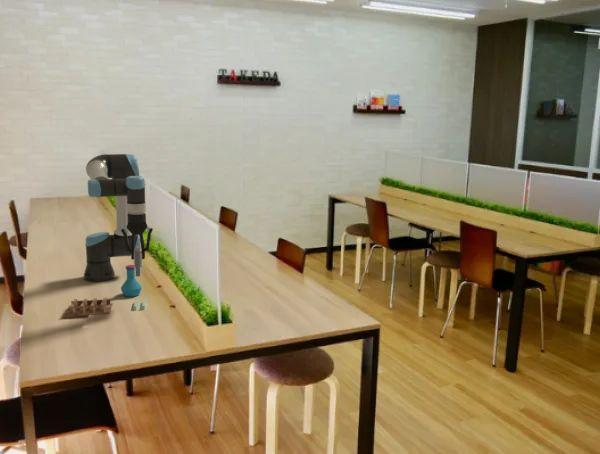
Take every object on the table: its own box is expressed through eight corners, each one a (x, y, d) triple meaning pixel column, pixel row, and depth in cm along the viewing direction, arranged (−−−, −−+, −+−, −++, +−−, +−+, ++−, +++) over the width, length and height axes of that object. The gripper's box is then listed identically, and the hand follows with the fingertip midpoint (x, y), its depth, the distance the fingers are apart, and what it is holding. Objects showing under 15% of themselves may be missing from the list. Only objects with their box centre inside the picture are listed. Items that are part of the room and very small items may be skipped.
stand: (134, 304, 246) (133, 299, 246) (148, 303, 248) (147, 298, 247) (132, 312, 236) (131, 307, 235) (146, 312, 237) (146, 306, 237)
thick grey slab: (137, 269, 244) (136, 245, 241) (141, 269, 244) (140, 245, 242) (135, 276, 234) (134, 251, 232) (140, 276, 234) (139, 251, 232)
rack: (69, 308, 240) (69, 298, 239) (112, 305, 244) (112, 296, 243) (63, 318, 228) (62, 308, 227) (109, 316, 232) (108, 306, 231)
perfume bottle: (121, 300, 251) (119, 268, 249) (121, 294, 260) (120, 263, 257) (141, 299, 254) (140, 267, 251) (142, 293, 263) (140, 262, 260)
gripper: (117, 214, 229) (119, 269, 233) (154, 214, 232) (155, 268, 236) (119, 211, 236) (121, 264, 240) (155, 211, 239) (156, 263, 244)
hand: (138, 266), depth 238 cm, fingers closed on thick grey slab, 2 cm apart
